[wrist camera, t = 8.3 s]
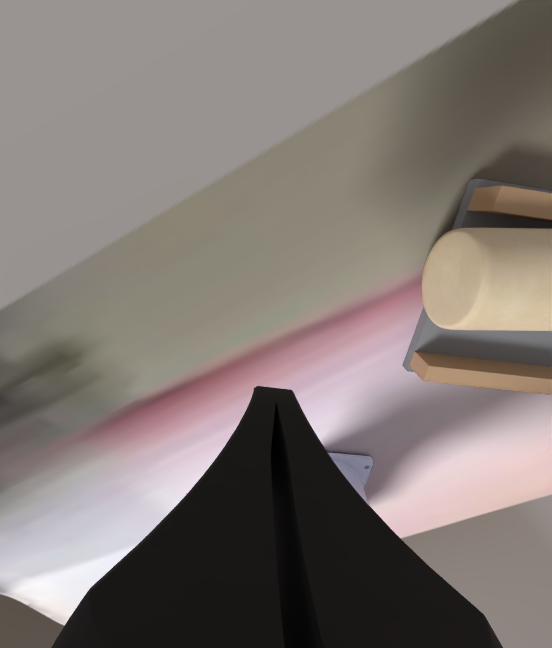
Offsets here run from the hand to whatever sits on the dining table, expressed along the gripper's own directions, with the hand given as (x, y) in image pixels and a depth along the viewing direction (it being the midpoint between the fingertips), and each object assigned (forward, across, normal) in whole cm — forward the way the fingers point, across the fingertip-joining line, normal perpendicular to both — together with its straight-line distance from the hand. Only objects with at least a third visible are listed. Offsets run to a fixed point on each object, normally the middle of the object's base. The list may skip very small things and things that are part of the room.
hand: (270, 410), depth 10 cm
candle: (+7, -9, -4) cm, 12 cm away
